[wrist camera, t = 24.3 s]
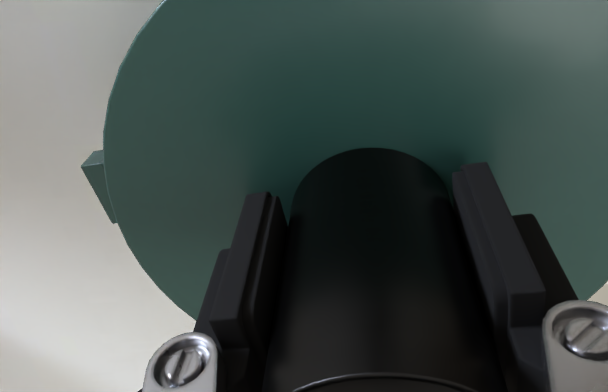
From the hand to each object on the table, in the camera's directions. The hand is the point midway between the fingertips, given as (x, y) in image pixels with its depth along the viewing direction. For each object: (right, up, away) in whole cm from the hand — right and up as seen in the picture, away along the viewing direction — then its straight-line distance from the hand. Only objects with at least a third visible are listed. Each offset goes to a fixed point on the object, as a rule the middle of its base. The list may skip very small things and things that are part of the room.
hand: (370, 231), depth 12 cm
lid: (0, +1, +1) cm, 1 cm away
